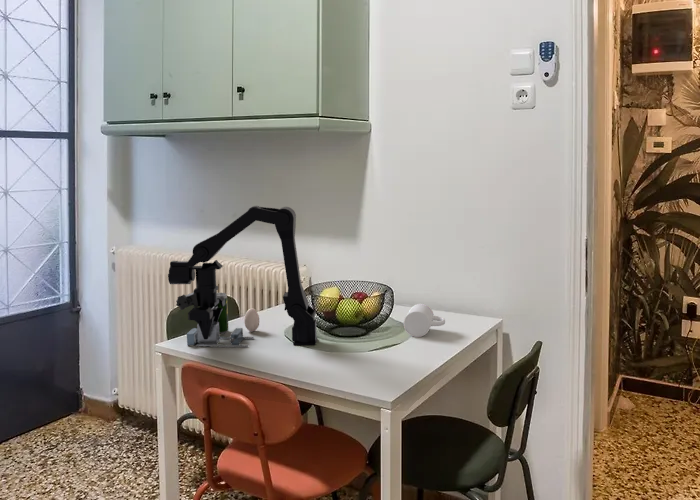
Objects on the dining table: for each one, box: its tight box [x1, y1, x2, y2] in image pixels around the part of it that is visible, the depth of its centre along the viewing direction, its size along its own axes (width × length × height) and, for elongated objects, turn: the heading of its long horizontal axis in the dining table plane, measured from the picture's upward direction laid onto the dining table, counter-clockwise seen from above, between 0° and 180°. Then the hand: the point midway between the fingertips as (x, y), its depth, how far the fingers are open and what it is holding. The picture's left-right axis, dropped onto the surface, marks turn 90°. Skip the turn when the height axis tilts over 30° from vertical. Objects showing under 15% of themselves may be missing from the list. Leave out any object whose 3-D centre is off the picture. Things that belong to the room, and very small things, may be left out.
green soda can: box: [217, 292, 229, 335], centre depth 201 cm, size 5×5×12 cm
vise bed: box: [186, 327, 255, 348], centre depth 190 cm, size 18×8×4 cm, turn 87°
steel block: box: [196, 322, 221, 344], centre depth 190 cm, size 4×6×6 cm, turn 87°
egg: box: [243, 307, 260, 333], centre depth 202 cm, size 5×5×7 cm
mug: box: [403, 303, 446, 338], centre depth 198 cm, size 12×10×8 cm
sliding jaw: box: [229, 327, 244, 345], centre depth 188 cm, size 2×10×3 cm, turn 177°
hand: (208, 336), depth 191 cm, fingers open, 6 cm apart
